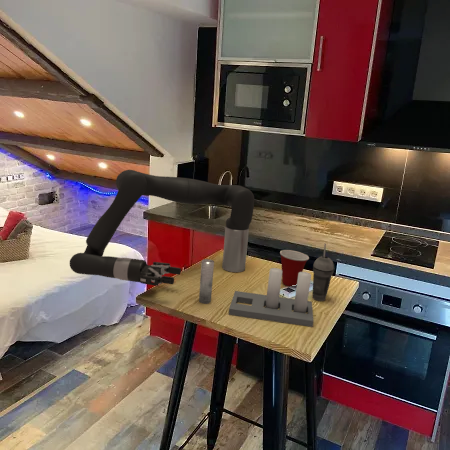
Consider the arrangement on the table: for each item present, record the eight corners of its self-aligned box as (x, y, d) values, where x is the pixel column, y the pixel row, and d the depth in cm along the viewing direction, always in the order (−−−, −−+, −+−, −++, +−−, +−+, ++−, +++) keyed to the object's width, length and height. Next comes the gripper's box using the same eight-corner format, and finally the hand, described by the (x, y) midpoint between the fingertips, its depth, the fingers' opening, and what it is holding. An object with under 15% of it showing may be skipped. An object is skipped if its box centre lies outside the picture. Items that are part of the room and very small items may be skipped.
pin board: (234, 296, 148) (238, 257, 144) (311, 307, 145) (316, 268, 141) (228, 314, 135) (232, 272, 131) (312, 326, 131) (318, 284, 128)
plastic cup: (310, 288, 160) (315, 258, 157) (285, 290, 156) (289, 259, 153) (295, 277, 170) (299, 248, 166) (271, 279, 166) (274, 249, 162)
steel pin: (200, 297, 145) (203, 258, 141) (211, 299, 144) (215, 260, 141) (197, 302, 141) (200, 262, 137) (209, 304, 140) (212, 264, 137)
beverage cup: (314, 303, 148) (322, 248, 142) (304, 294, 154) (312, 241, 149) (333, 302, 150) (341, 248, 144) (323, 293, 156) (331, 241, 151)
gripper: (122, 266, 136) (172, 273, 134) (138, 252, 150) (183, 258, 148) (122, 288, 138) (170, 295, 136) (137, 272, 152) (182, 278, 150)
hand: (177, 276), depth 142 cm, fingers open, 8 cm apart
